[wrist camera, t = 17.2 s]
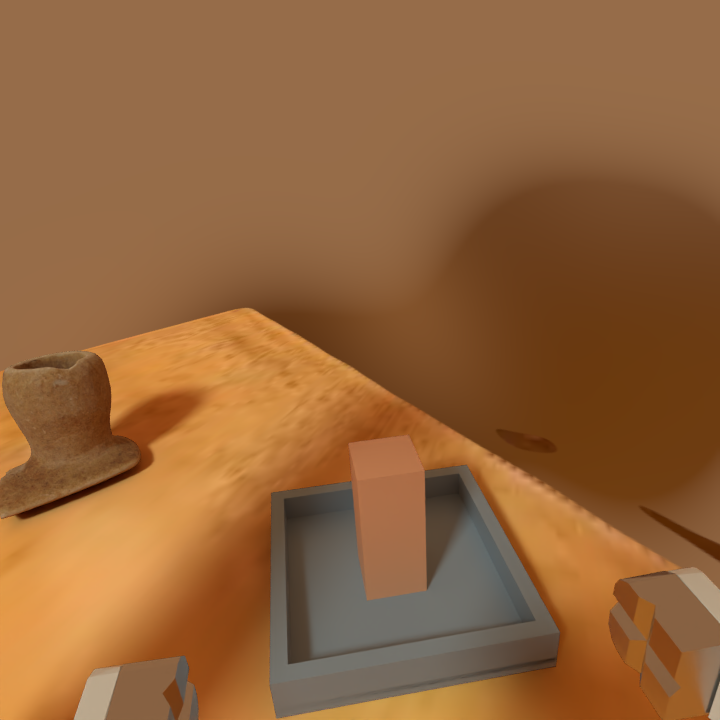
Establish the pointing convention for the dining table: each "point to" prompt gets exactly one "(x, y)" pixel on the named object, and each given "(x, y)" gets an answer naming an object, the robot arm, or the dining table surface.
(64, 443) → the stone cup
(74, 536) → the dining table surface
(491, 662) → the tray
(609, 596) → the dining table surface
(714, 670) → the robot arm
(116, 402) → the dining table surface
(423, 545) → the terracotta block
